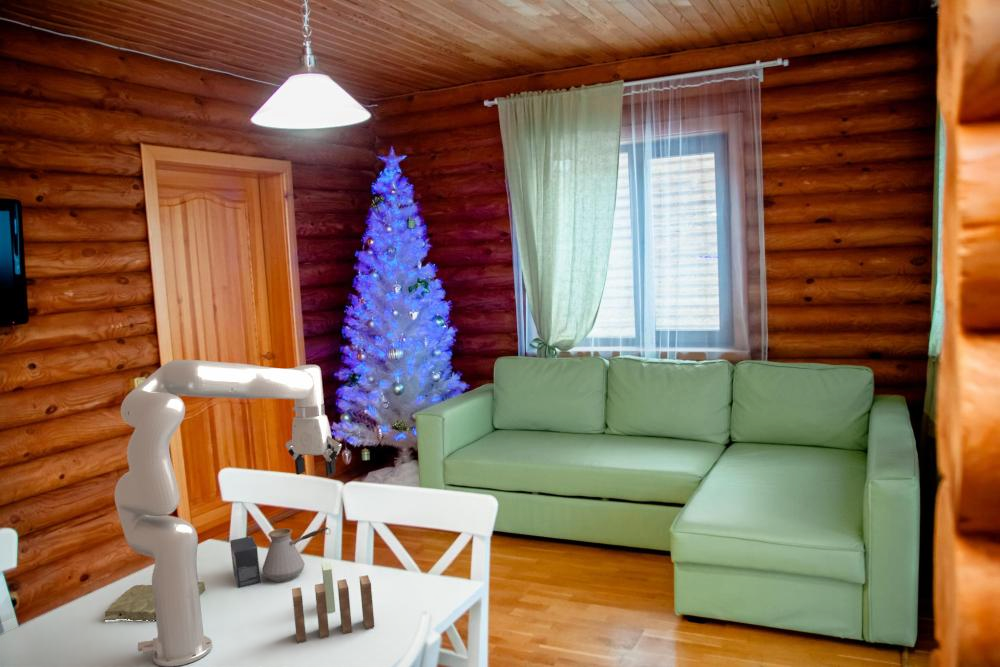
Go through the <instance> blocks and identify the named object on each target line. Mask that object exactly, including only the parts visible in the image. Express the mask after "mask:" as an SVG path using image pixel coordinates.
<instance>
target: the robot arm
mask: <svg viewBox="0 0 1000 667" xmlns="http://www.w3.org/2000/svg"><path fill="white" fill-rule="evenodd" d="M179 396H183V397H184V396H185V397H196V398H220V399H221V398H222V399H224V398H225V399H243V400H244V399H245V400H248V399H249V400H250V399H251V400H253V399H255V400H256V399H280V400H281V399H282V400H294V407H292V412H295V416H294V417H293V421H292V428H291V429H292V430H291V439H290V440H288V441H287V442H285V447H286V449H287V451H288V453H289V455H290V456H291V458H292V460H293V461H294V466H295V474H296V475H297V476H298V475H301V474H303V473H305V472H306V464H305V463H306V462H305V457H303V455H304V456H321V455H322V456H323V457H324V459H325V460H326V461H325V463H324V464H325V465H324V466H325V475H326V477H331V476H333V475H335V474H336V462H335V461H336V459H337V457H338V456H339V454H340V453H341V452H340V451H341V449H342V443H340V442H338V441H337V440H335V439H333V438H332V431H331V426H330V422H329V419H328V416H327V415H326V414H325V413H326V412H325V411H326V410H325V404H324V403H325V402H324V389H323V379H322V370H321V367H320V366H319V365H317V364H303V365H297V366H295V367H293V368H292V367H291V368H283V367H282V368H278V367H271V366H270V367H269V366H263V365H262V366H261V365H254V364H249V363H241V362H237V363H236V362H224V361H211V360H210V361H209V360H201V359H200V360H199V359H198V360H197V359H174V360H171V361H168V362H166V363H164V364H163V365H162V366H160V367H159V368H158V369H156V370H155V371H154V372H153V373H152V374H150V375H149V376H148V377H146V379H144V380H143V381H142V382H141V383H140V384H138V385H137V386H136V387H135V388H133V389H132V390H131V391H130V392H129V393H128V394H127V395H126V397H124V400H123V401H122V403H121V406H120V415H121V418H122V420H123V421H124V423H126V424H127V425H128V426H130V427H132V428H134V430H133V432H132V435H131V437H130V438H129V441H128V444H127V447H126V448H127V449H126V457H127V464H128V469H129V471H127V472H125V473H124V474H123V475H122V476H121V477H120V478H119V480H118V482H116V486H115V488H114V502H115V503H114V504H115V506H116V510H117V515H118V518H119V522H120V524H121V527H122V531H123V535H124V538H125V540H126V542H127V544H128V546H129V547H130V549H131V550H132V551H133V552H135V553H137V554H140V555H142V556H147V557H149V558H152V559H154V567H153V572H152V575H151V585H152V589H153V596H154V604H155V613H156V621H155V622H156V630H157V636H156V637H154V638H152V639H151V640H145V641H140V642H137V650H138V652H142V655H146V654H150V653H152V660H153V663H154V664H155V665H158V666H161V667H178V666H182V665H183V666H184V665H187V664H190V663H191V664H192V663H193V662H196V661H198V660H200V659H201V658H203V657H205V656H206V655H208V654H209V652H211V650H212V648H213V641H212V640H211V638H210V637H208V636H206V635H205V634H204V628H203V627H204V625H203V617H202V607H201V596H199V586H198V582H199V578H198V569H197V568H198V567H197V565H198V564H197V557H198V556H197V555H198V544H199V538H198V532H197V530H196V528H195V527H194V526H193V524H191V523H190V522H189V521H187V520H186V519H184V518H180V517H177V516H172V515H170V514H173V512H175V511H176V509H177V508H178V507H179V503H180V501H181V500H180V499H181V495H180V489H179V485H178V480H177V478H176V477H177V476H176V474H175V470H174V467H173V463H172V459H171V454H170V446H171V445H170V444H171V440H172V438H173V436H174V435H175V432H176V431H177V429H178V428H179V426H180V425H181V424H182V422H183V420H184V418H185V415H186V414H185V413H186V405H185V403H184V400H183V399H182V398H181V397H179Z"/></svg>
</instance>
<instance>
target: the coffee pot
mask: <svg viewBox="0 0 1000 667" xmlns="http://www.w3.org/2000/svg"><path fill="white" fill-rule="evenodd" d="M327 530H329V533H327ZM323 532H325V535H330V534H331V528H329V527H328V526H325V527H323V528H319V529H318V530H314V531H311V532H310V533H307V534H305V535H303V536H301V537H298V538H296V539H294V540H293V539H292V537H291V535H292V534H293V530H292V529H291V528H285V527H284V528H276V529H273V530H272V531H270V532H268V534H267V535H268V537H269V538H270V540H271V541H270V544H269V548H268V551H267V553H266V556H265V560H264V563H263V566H262V573H263V575H264V577H266V578H267V579H269V580H270V581H271V582H272V583H273V582H274V583H284V582H289V581H292V580H294V579H296V578H297V577H299V575H300V574H301V573H302V572H303V570H304V568H305V561H304V559H303V557H302V555H301V553H300V552H299V550H298V548H297V547H296V545H295V544H297V543H298V542H301V541H304V540H306V539H310V538H312V537H315V536H316V535H318V534H322V533H323ZM298 574H299V575H298Z"/></svg>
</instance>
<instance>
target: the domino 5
mask: <svg viewBox="0 0 1000 667" xmlns="http://www.w3.org/2000/svg"><path fill="white" fill-rule="evenodd" d="M358 577H359V578H358V579H359V589H360V599H361V600H360V601H361V613H362V622H363V621H364V622H363V624H364V627H366V628H365V630H370V629H369V628H371V629H374V628H373V627H375V618H374V616H375V615H374V606H373V604H374V602H373V592H372V582H371V579H370V578H369V575H368V574H367V575H361V576H358Z"/></svg>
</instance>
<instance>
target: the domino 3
mask: <svg viewBox="0 0 1000 667" xmlns="http://www.w3.org/2000/svg"><path fill="white" fill-rule="evenodd" d="M331 565H332V564H331V562H330V561H329V562H322V563H321V570H322V571H321V572H322V583H323V584H324V588H325V593H326V604H327V614H331V613H335V612H336V603H335V592H334V591H335V590H334V581H333V580H334V579H333V572H332V571H333V570H332V569H333V568H332V566H331Z"/></svg>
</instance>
